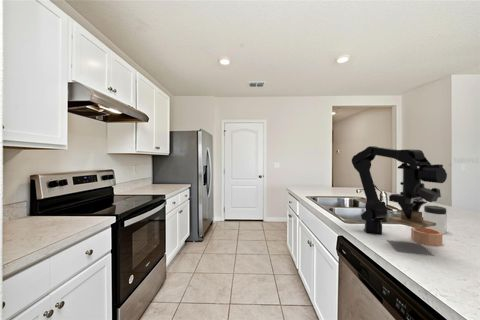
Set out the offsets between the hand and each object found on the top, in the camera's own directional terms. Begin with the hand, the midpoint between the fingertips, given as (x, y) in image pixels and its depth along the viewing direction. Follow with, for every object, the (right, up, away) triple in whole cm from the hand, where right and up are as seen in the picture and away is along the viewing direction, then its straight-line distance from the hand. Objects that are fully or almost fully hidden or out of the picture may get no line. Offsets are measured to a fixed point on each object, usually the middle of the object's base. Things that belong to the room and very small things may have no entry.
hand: (411, 218), depth 87 cm
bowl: (+11, -12, +6) cm, 17 cm away
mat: (-2, -12, -1) cm, 12 cm away
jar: (+27, -12, +19) cm, 35 cm away
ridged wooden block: (0, -2, 0) cm, 2 cm away
